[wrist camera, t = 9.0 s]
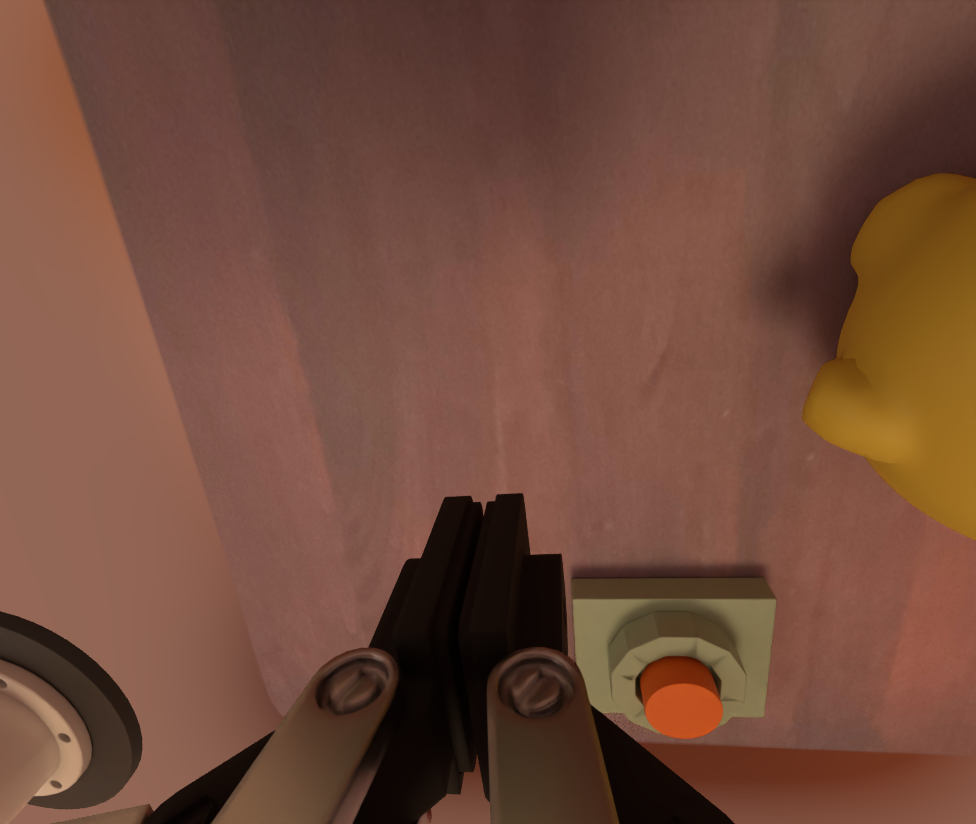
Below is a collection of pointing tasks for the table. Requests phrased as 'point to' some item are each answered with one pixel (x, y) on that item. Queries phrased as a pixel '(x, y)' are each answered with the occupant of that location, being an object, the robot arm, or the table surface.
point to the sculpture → (911, 350)
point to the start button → (680, 697)
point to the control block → (673, 637)
